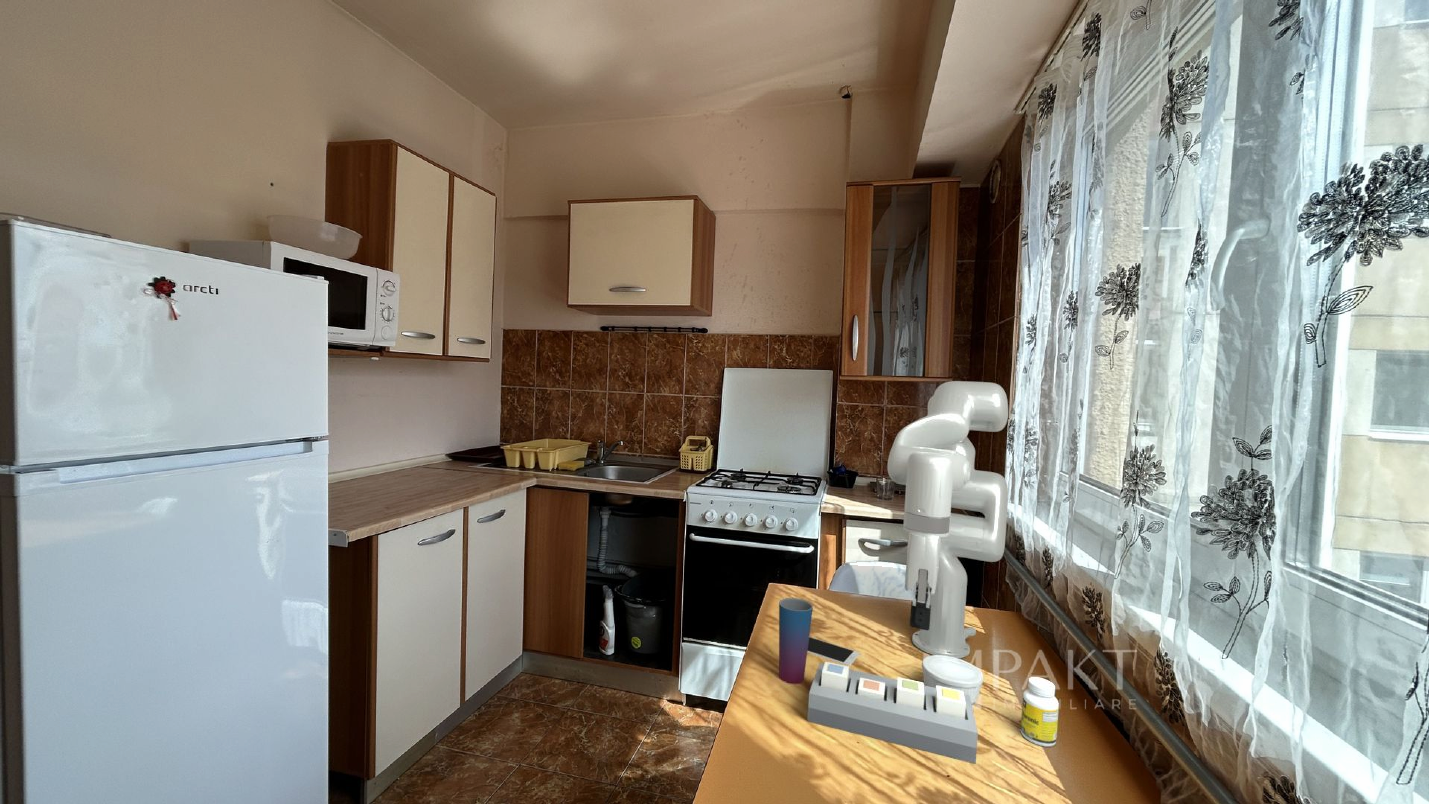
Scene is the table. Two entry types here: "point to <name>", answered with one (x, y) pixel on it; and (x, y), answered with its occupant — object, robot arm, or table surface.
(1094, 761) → the table surface
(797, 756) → the table surface
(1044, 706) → the supplement bottle
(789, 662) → the cup
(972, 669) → the ramekin
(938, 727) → the keypad
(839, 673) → the key slate
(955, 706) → the key mustard
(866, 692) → the key terracotta
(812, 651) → the smartphone
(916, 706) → the key olive
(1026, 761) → the table surface
